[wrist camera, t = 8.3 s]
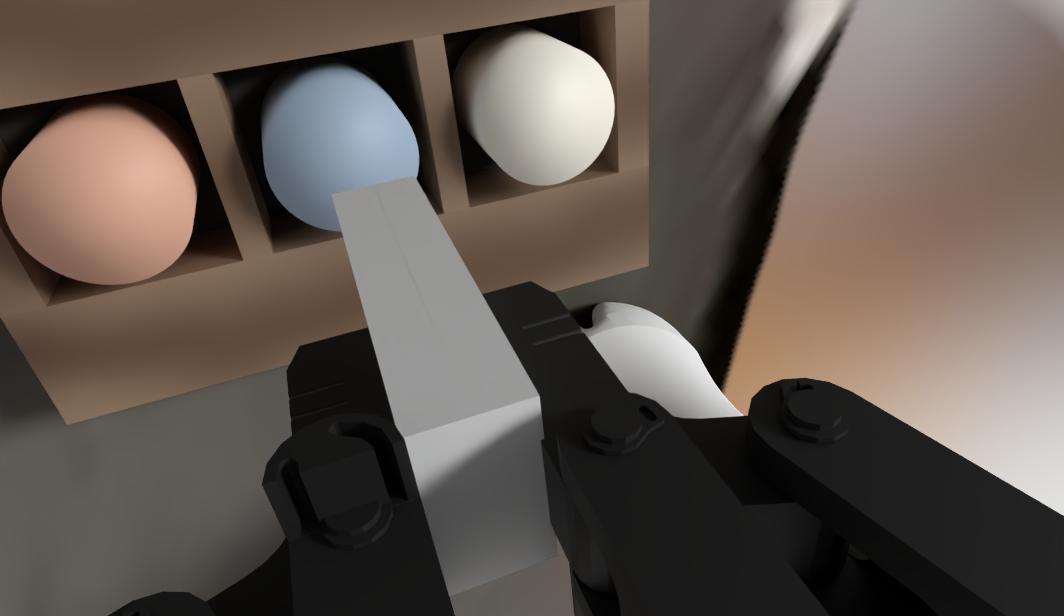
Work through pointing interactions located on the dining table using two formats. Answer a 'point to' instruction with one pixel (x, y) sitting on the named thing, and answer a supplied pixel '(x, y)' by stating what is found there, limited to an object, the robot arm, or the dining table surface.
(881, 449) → the robot arm
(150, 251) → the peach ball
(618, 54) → the brown wooden tray
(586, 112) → the cream rounded lump
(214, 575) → the dining table surface
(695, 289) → the dining table surface
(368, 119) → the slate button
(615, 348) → the water bottle
